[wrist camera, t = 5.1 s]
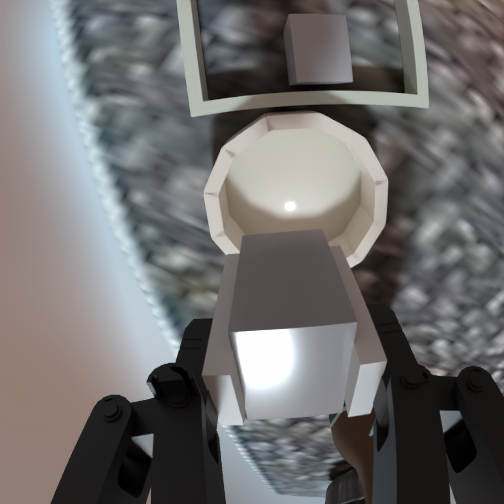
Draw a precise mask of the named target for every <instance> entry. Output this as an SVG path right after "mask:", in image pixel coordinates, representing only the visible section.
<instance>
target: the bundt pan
mask: <svg viewBox="0 0 504 504" xmlns="http://www.w3.org/2000/svg"><path fill="white" fill-rule="evenodd" d="M325 504H366V502H365V497H364V493H363V488H362V484H361V481H360V478H359V476H358V473H357V470H356V469H352V470H350V471H348V472H347V473H344V474H341V475H339V476H337V477H336V478H335V479H334V481H333V482H332V483H331V484H330V485H329V486H328V488H327V491H326V500H325Z"/></svg>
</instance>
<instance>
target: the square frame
mask: <svg viewBox="0 0 504 504" xmlns="http://www.w3.org/2000/svg"><path fill="white" fill-rule="evenodd" d="M394 4H395V9H396V15H397V21H398V28H399V35H400V43H401V52H402V62H403V73H404V87H405V94H404V93H390V92H372V91H303V92H284V93H270V94H259V95H249V96H240V97H232V98H224V99H217V100H210V101H209V99H208V91H207V84H206V76H205V68H204V60H203V53H202V44H201V36H200V28H199V19H198V11H197V2H196V0H177V9H178V18H179V27H180V36H181V44H182V53H183V61H184V68H185V76H186V84H187V91H188V98H189V105H190V112H191V117H195V116H201V115H207V114H214V113H221V112H229V111H237V110H246V109H256V108H266V107H279V106H294V105H317V104H371V105H394V106H409V107H421V108H429V98H428V79H427V66H426V55H425V46H424V38H423V31H422V24H421V18H420V12H419V7H418V1H417V0H394Z"/></svg>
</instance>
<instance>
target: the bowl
mask: <svg viewBox="0 0 504 504" xmlns="http://www.w3.org/2000/svg"><path fill="white" fill-rule="evenodd" d="M203 194H204V200H205V205H206V211H207V217H208V222H209V228H210V233H211V237H212V239H213V240H214V242H215V243H216V244H217V245H218V246H219V247H220V249H221V250H222V251H223V252H224V253H225V254H226V255H227V254H236V253H240V248H241V242H242V236H243V235H253V234H265V233H277V232H289V231H302V230H315V229H322V230H323V232H324V235H325V237H326V240H327V242H328V245H329V246H339V245H340V246H341V248H342V250H343V253H344V255H345V257H346V259H347V261H348V264H349V266H350V268H352V267H353V266H355V265H357V264H358V263H360V262H361V261H363V259H364V258H365V256H366V255H367V253H368V252H369V250H370V248H371V247H372V245H373V244H374V242H375V241H376V239H377V238H378V236H379V235H380V233H381V231H382V230H383V228H384V227H385V224H386V213H387V197H388V178H387V176H386V175H385V173H384V171H383V169H382V167H381V165H380V163H379V161H378V159H377V158H376V156H375V154H374V152H373V150H372V149H371V147H370V145H369V143H368V142H367V140H366V138H365V137H363V136H361V135H359V134H358V133H356V132H354V131H353V130H351V129H349V128H347V127H345V126H344V125H342V124H340V123H338V122H336V121H334V120H332V119H331V118H329V117H327V116H325V115H323V114H321V113H318V112H315V111H312V110H296V111H281V112H268V113H266V114H265V113H264V114H263V115H261V116H260V117H258V118H257V119H255V120H254V121H253V122H251V123H250V124H248V125H247V126H245V127H244V128H243V129H241V130H240V131H238V132H237V133H236V134H234V135H233V136H231V137H230V138H229V139H228V141H227V142H226V143H225V144H224V146H223V147H222V149H221V151H220V153H219V156H218V158H217V160H216V163H215V165H214V168H213V170H212V173H211V175H210V177H209V180H208V182H207V185H206V187H205V190H204V193H203Z"/></svg>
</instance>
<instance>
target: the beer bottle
mask: <svg viewBox="0 0 504 504" xmlns="http://www.w3.org/2000/svg"><path fill="white" fill-rule="evenodd" d="M375 417H376V414H375V410H374V406H373V407H372V410H371V413H370V414H364V415H358V416H352V417H348V414H347V409H346V403H345V400H344V405H343V410H342V413H335V414H329V419H330V426H331V431H332V436H333V440H334V444H335V446H336V447H337V449H338V451H339V452H340V454H341V456H342V457H343V458H344V459H345V460H346V461H347V462H348V463H349V464H350V465H352V466H353V467H354V468H355V469H356V470H357V473H358V476H359V478H360V481H361V484H362V488H363V493H364V497H365V502H366V504H372V496H373V465H374V435H372V436H369V433H370V429H371V427H372V425H373V422H374V420H375Z"/></svg>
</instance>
